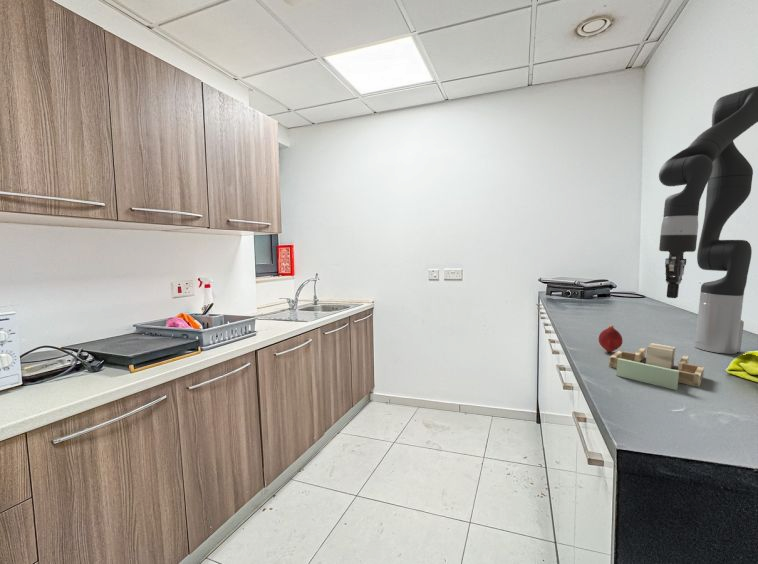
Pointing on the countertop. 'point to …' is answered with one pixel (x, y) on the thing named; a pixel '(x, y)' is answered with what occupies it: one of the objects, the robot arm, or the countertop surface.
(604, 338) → the onion
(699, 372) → the channel
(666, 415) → the countertop surface
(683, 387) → the countertop surface
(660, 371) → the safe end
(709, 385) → the countertop surface
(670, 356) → the block
